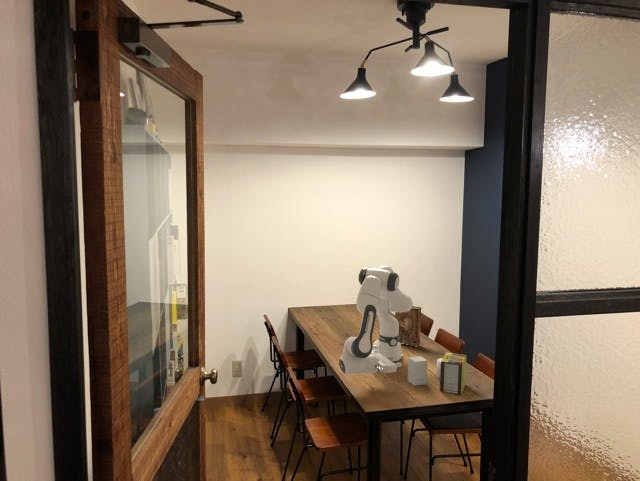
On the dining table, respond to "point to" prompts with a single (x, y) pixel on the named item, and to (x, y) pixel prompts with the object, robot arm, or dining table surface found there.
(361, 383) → the dining table surface
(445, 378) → the protein box
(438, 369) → the off-white mug
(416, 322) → the book
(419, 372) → the supplement box
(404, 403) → the dining table surface
